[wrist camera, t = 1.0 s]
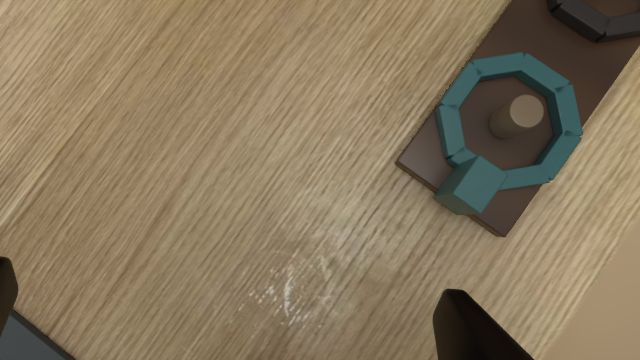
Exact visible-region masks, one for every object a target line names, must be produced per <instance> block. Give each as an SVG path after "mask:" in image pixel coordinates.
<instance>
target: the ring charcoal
mask: <svg viewBox="0 0 640 360" xmlns="http://www.w3.org/2000/svg"><path fill="white" fill-rule="evenodd" d="M547 4H548V9H549V12H551V11H553V13H552V16H554V17H556V18H557V19H559V20H560V21H562V22H563V23H565V24H566V25H568V26H569V27H571V28H572V29H574V30H575V31H577V32H578V33H580V34H581V35H583V36H584V37H586V38H587V39H589V40H591V41H595V40H596V42H597V43H599V42H606V41H612V40H618V39H624V38H630V37H636V36H640V12H638V13H632V14H626V15H620V16H614V17H607V16H605V15H604V14H602V13H600V12H599V11H597V10H596V9H594V8H593V7H591V6H590V5H588V4H587V3H585V2H584V1H582V0H547Z"/></svg>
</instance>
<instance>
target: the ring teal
mask: <svg viewBox="0 0 640 360" xmlns="http://www.w3.org/2000/svg"><path fill="white" fill-rule="evenodd" d="M510 76H515V77H517V78H518V79H520V80H521V81H523V82H524V83H526V84H527V85H528V86H530V87H531V88H533V89H534V90H536V91H537V92H539V93H540V94H542V95H543V96H545V97H546V98H547V103H548V108H549V113H550V118H551V123H552V127H553V132H554V137H553V138H552V139H551V141H550V142H549V144H548V145H547V147H546V148H545V149H544V151H543V152H542V154H541V155H540V157H539V158H538V159H537V161H536V162H535V164H534V165H533V166H527V167H520V168H514V169H508V170H501V169H500V168H498V167H497V166H495V165H494V164H492V163H491V162H489V161H488V160H487V159H485V158H484V157H482V156H481V155H478V156H477V155H476V154H474V153H473V152H472V151H470V150H469V149H467V148H466V145H465V140H464V134H463V129H462V124H461V118H460V113H459V108H460V106H461V105H462V103H463V102H464V101H465V99H466V98H467V96H468V95H469V94H470V92H471V91H472V89H473V88H474V87H475V85H476V84H477V83H478V82H479V81H485V80H491V79H498V78H504V77H510ZM569 82H570V81H569V80H567V79H566V78H564V77H563V76H561V75H560V74H558V73H557V72H555V71H554V70H552V69H551V68H549V67H548V66H546V65H545V64H543V63H542V62H540V61H539V60H537V59H536V58H534V57H533V56H531V55H530V54H528V53H526V54H524V55H523V52H518V53H512V54H506V55H499V56H493V57H487V58H481V59H475V60H472V61H471V63H470V62H469V63H467V65H466V66H465V67H464V68H463V70H462V71H461V72H460V74H459V75H458V77H457V78H456V79H455V81H454V82H453V83H452V85H451V86H450V88H449V89H448V90H447V92H446V93H445V95H444V96H443V97H442V99H441V100H440V101H439V103H438V104H437V106H436V107H437V109H436V110H435V112H436V118H437V123H438V129H439V134H440V140H441V145H442V150H443V156H444V158H448V159H447V163H449V164H450V165H452V166H453V167H454V169H453V170H452V172H451V173H450V174H449V176H448V177H447V179H446V180H445V181H444V183H443V184H442V186H441V187H440V188H439V190H438V191H437V193H436V194H435V196H434V199H435V200H437V201H438V202H440V203H441V204H442V205H444V206H445V207H447V208H448V209H449V210H451V211H452V212H454V213H455V214H456V215H466V214H481V213H482V212H483V211H484V210H485V208H486V207H487V205H488V204H489V202H490V201H491V200H492V198H493V197H494V195H495V194H496V193H497V191H501V190H507V189H513V188H520V187H526V186H532V185H539V184H545V183H549V181H550V180H553V179H554V178H555V177H556V175H557V174H558V172H559V171H560V169H561V168H562V167H563V165H564V164H565V162H566V161H567V159H568V158H569V157H570V155H571V154H572V152H573V151H574V149H575V148H576V146H577V145H578V144H579V142H580V141H581V139H582V138H581V137H579V136H581V135H583V132H582V127H581V122H580V117H579V113H578V108H577V103H576V99H575V94H574V89H573V85H568V84H569Z"/></svg>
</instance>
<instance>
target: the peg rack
mask: <svg viewBox="0 0 640 360" xmlns="http://www.w3.org/2000/svg"><path fill="white" fill-rule="evenodd" d="M582 1H584V2H585V3H587V4H588V5H590V6H591V7H593V8H594V9H596V10H597V11H599V12H600V13H602V14H604V15H605V16H607V17H614V16H620V15H626V14H632V13H638V12H640V0H582ZM552 13H553V11H551V12H549V9H548V4H547V0H512V1H511V2H510V3H509V5H508V6H507V8H506V9H505V10H504V12H503V13H502V14H501V16H500V17H499V19H498V20H497V21H496V23H495V24H494V26H493V27H492V28H491V30H490V31H489V32H488V34H487V35H486V37H485V38H484V39H483V41H482V42H481V44H480V45H479V46H478V48H477V49H476V51H475V52H474V53H473V55H472V56H471V57H470V59H469V60H468V62H467V63H469V62H470V63H471V61H472V60H475V59H481V58H487V57H493V56H499V55H506V54H512V53H518V52H523V55H524V54H526V53H528V54H530V55H531V56H533V57H534V58H536V59H537V60H539V61H540V62H542V63H543V64H545V65H546V66H548V67H549V68H551V69H552V70H554V71H555V72H557V73H558V74H560V75H561V76H563V77H564V78H566V79H567V80H569V81H570V82H569V84H568V85H573V89H574V94H575V99H576V103H577V108H578V113H579V117H580V122H581V127H583V126H584V124H585V123H586V121H587V120H588V118H589V117H590V116H591V114H592V113H593V111H594V110H595V108H596V107H597V106H598V104H599V103H600V101H601V100H602V98H603V97H604V95H605V94H606V93H607V91H608V90H609V88H610V87H611V85H612V84H613V83H614V81H615V80H616V78H617V77H618V75H619V74H620V73H621V71H622V70H623V68H624V67H625V65H626V64H627V63H628V61H629V60H630V58H631V57H632V55H633V54H634V53H635V51H636V50H637V48H638V47H639V45H640V36H636V37H630V38H624V39H618V40H612V41H606V42H599V43H597V42H596V40H595V41H591V40H589V39H587V38H586V37H584V36H583V35H581V34H580V33H578V32H577V31H575V30H574V29H572V28H571V27H569V26H568V25H566V24H565V23H563V22H562V21H560V20H559V19H557V18H556V17H554V16H552ZM467 63H466V64H465V66H466V65H467ZM465 66H464V67H465ZM464 67H463V68H464ZM462 70H463V69H462ZM462 70H461V71H462ZM461 71H460V72H461ZM459 74H460V73H459ZM459 74H458V75H459ZM458 75H457V77H458ZM457 77H456V78H457ZM456 78H455V79H456ZM454 81H455V80H454ZM454 81H453V82H454ZM453 82H452V83H453ZM451 85H452V84H451ZM451 85H450V86H451ZM449 88H450V87H449ZM449 88H448V89H449ZM448 89H447V90H448ZM446 92H447V91H446ZM446 92H445V93H446ZM445 93H444V95H445ZM444 95H443V96H444ZM443 96H442V97H443ZM441 99H442V98H441ZM441 99H440V100H441ZM440 100H439V101H440ZM438 103H439V102H438ZM438 103H437V104H438ZM436 106H437V105H436ZM436 106H435V107H434V109H433V110H432V111H431V113H430V114H429V116H428V117H427V118H426V120H425V121H424V123H423V124H422V125H421V127H420V128H419V129H418V131H417V132H416V134H415V135H414V136H413V138H412V139H411V141H410V142H409V143H408V145H407V146H406V147H405V149H404V150H403V152H402V153H401V154H400V156H399V157H398V159H397V160H396V161H395V165H397V166H398V167H400V168H401V169H402V170H404V171H405V172H407V173H408V174H409V175H411V176H412V177H414V178H415V179H416V180H418V181H419V182H421V183H422V184H423V185H425V186H426V187H428V188H429V189H431V190H432V191H433V192H435V193H437V191H438V190H439V188H440V187H441V186H442V184H443V183H444V181H445V180H446V179H447V177H448V176H449V174H450V173H451V172H452V170H453V169H454V167H453V166H452V165H450V164H449V163H447V159H448V158H444V156H443V150H442V145H441V140H440V134H439V129H438V123H437V118H436V112H435V110H436V109H437V107H436ZM459 113H460V118H461V124H462V129H463V134H464V140H465V145H466V148H467V149H469V150H470V151H472V152H473V153H474V154H476V155H477V156H478V155H481V156H482V157H484V158H485V159H487V160H488V161H489V162H491V163H492V164H494V165H495V166H497V167H498V168H500V169H501V170H508V169H514V168H520V167H527V166H533V165H534V164H535V162H536V161H537V159H538V158H539V157H540V155H541V154H542V152H543V151H544V149H545V148H546V147H547V145H548V144H549V142H550V141H551V139H552V138H553V137H554V132H553V127H552V123H551V118H550V113H549V108H548V103H547V98H546V97H545V96H543V95H542V94H540V93H539V92H537V91H536V90H534V89H533V88H531V87H530V86H528V85H527V84H526V83H524V82H523V81H521V80H520V79H518V78H517V77H515V76H510V77H504V78H498V79H491V80H485V81H479V82H478V83H477V84H476V85H475V87H474V88H473V89H472V91H471V92H470V94H469V95H468V96H467V98H466V99H465V101H464V102H463V103H462V105H461V106H460V108H459ZM541 186H542V184H539V185H532V186H526V187H520V188H513V189H507V190H501V191H497V193H496V194H495V195H494V197H493V198H492V200H491V201H490V202H489V204H488V205H487V207H486V208H485V210H484V211H483V212H482V213H481V214H466V215H467V216H469V217H470V218H471V219H473V220H474V221H476V222H477V223H478V224H480V225H481V226H483V227H484V228H485V229H487V230H488V231H490V232H491V233H493V234H494V235H495V236H497V237H506V236H507V234H508V233H509V231H510V230H511V229H512V227H513V226H514V224H515V223H516V221H517V220H518V219H519V217H520V216H521V214H522V213H523V211H524V210H525V208H526V207H527V206H528V204H529V203H530V201H531V200H532V198H533V197H534V196H535V194H536V193H537V191H538V190H539V188H540V187H541Z"/></svg>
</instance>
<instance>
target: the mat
mask: <svg viewBox="0 0 640 360" xmlns="http://www.w3.org/2000/svg"><path fill="white" fill-rule="evenodd" d="M0 360H75V359H73V358H72V357H71V356H70V355H68V354H67V353H66V352H65V351H63V350H62V349H61V348H60V347H58V346H57V345H56V344H55V343H53V342H52V341H51V340H50V339H48V338H47V337H46V336H45V335H43V334H42V333H41V332H40V331H39V330H37V329H36V328H35V327H34V326H32V325H31V324H30V323H29V322H27V321H26V320H25V319H24V318H22V317H21V316H20V315H19V314H17V313H16V312H15V311H14V310H11V313H10V315H9V318H8V320H7V323H6V325H5V328H4V330H3V333H2V335H1V337H0Z"/></svg>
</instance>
